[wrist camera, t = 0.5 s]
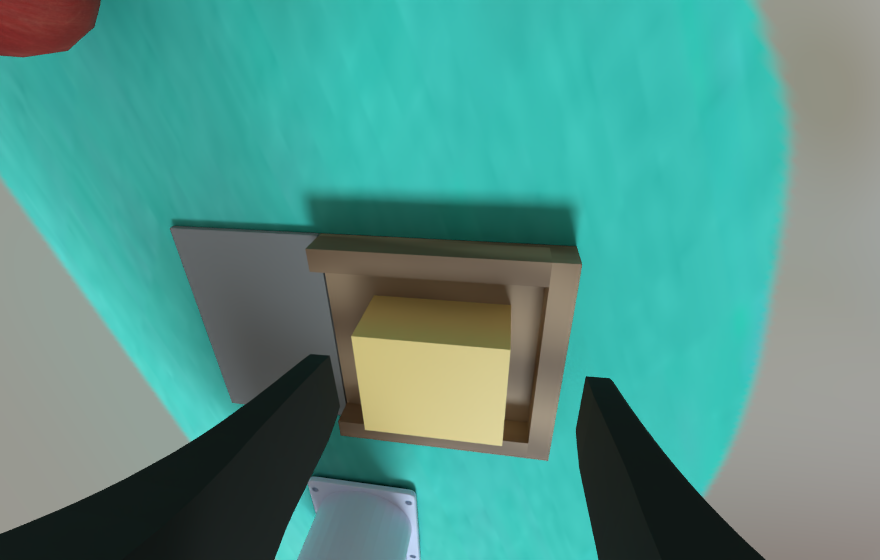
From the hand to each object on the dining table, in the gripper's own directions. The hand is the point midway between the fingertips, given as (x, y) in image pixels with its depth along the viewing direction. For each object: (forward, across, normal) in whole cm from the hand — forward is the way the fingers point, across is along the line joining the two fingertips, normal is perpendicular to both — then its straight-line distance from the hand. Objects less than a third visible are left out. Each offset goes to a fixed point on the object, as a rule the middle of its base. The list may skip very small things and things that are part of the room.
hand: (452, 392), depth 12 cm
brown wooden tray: (+9, +2, +6) cm, 11 cm away
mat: (+9, +12, +5) cm, 16 cm away
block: (+9, +2, +6) cm, 11 cm away
